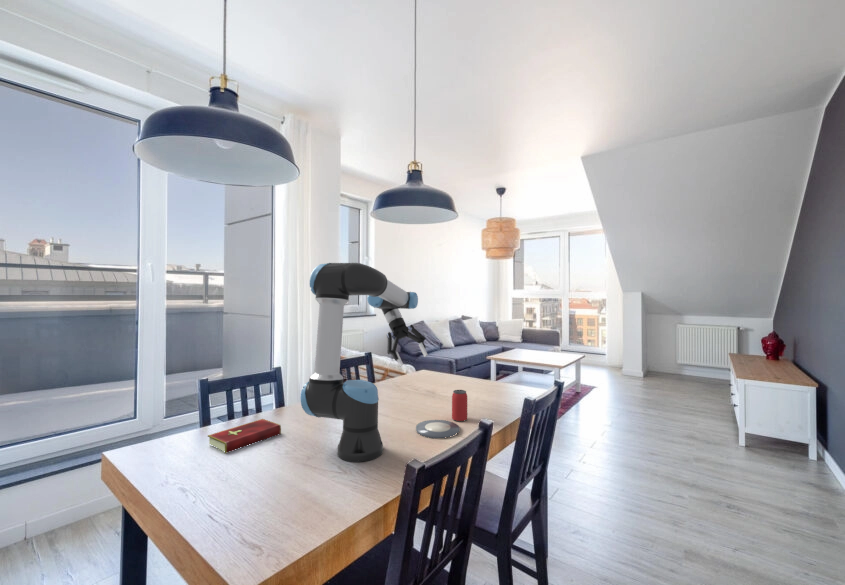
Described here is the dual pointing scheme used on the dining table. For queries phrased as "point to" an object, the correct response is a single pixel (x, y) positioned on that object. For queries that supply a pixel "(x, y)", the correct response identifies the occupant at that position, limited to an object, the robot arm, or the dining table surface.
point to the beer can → (459, 405)
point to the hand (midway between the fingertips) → (414, 360)
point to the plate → (437, 428)
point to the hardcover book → (244, 435)
